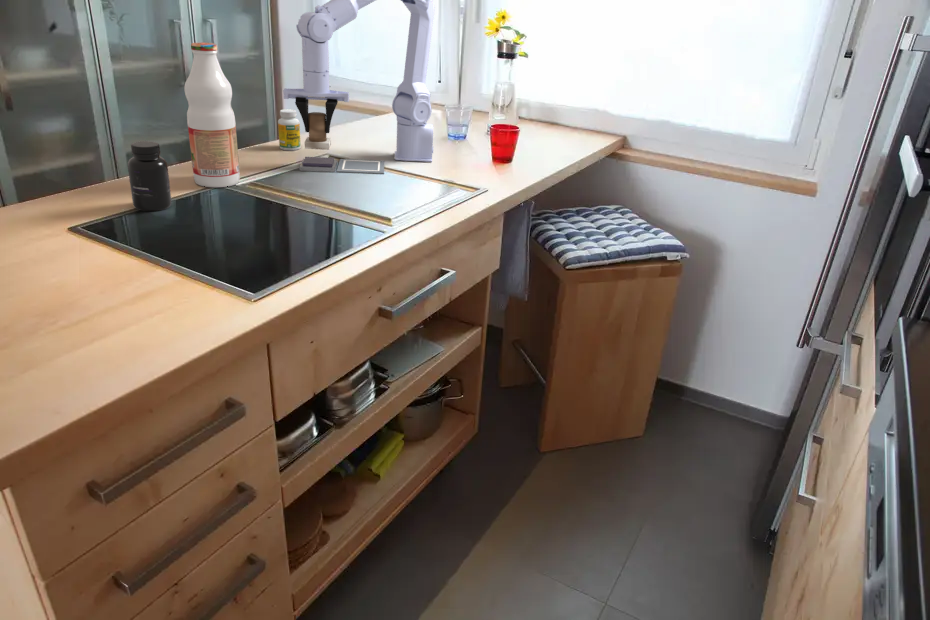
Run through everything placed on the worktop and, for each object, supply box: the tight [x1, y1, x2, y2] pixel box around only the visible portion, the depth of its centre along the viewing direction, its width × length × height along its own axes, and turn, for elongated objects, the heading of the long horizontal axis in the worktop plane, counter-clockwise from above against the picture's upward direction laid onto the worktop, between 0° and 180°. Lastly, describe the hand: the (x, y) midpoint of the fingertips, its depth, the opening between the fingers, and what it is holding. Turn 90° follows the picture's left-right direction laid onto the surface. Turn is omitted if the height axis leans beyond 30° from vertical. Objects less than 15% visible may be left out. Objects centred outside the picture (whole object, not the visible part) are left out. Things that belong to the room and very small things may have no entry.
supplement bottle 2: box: [277, 108, 301, 151], centre depth 175 cm, size 5×5×10 cm
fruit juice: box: [184, 42, 241, 188], centre depth 141 cm, size 9×9×28 cm
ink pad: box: [299, 156, 338, 173], centre depth 163 cm, size 8×7×2 cm
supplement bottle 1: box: [127, 140, 172, 212], centre depth 128 cm, size 7×7×12 cm
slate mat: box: [336, 158, 385, 175], centre depth 166 cm, size 11×11×1 cm
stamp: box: [304, 111, 332, 151], centre depth 159 cm, size 6×6×8 cm
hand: (317, 131), depth 159 cm, fingers closed on stamp, 4 cm apart
